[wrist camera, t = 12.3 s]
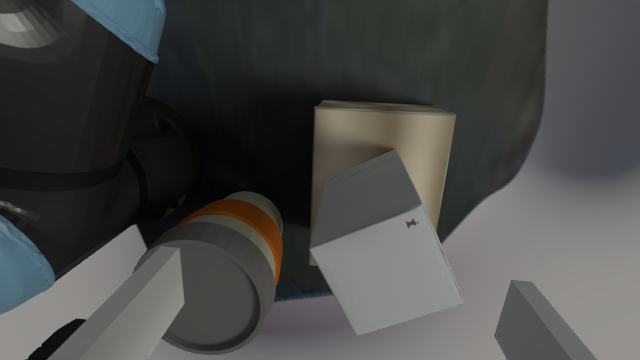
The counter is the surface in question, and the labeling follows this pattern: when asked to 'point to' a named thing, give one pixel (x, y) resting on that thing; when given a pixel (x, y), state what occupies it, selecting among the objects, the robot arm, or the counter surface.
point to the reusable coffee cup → (224, 272)
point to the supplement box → (380, 247)
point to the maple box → (382, 145)
